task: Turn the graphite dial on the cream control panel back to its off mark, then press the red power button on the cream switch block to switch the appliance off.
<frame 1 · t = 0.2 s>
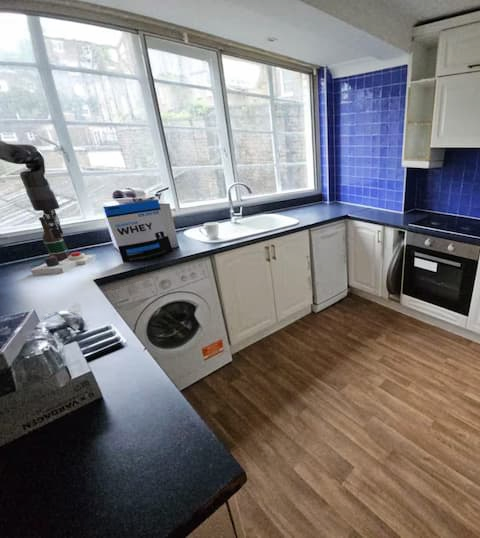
hand: (59, 236, 125), 22 cm above the table, tool pointing down, fingers open, 8 cm apart
control panel: (56, 270, 150), on the table
dial: (51, 261, 148), point 5 cm above the table, hinge at 90.0°
power button: (75, 254, 158), point 5 cm above the table, slide at 0.2 cm
switch block: (79, 262, 160), on the table
beer bottle: (62, 259, 165), on the table
protein powder: (149, 256, 166), on the table
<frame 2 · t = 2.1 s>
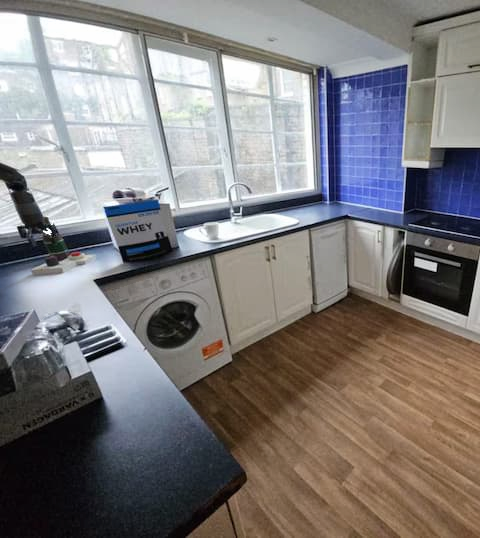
hand: (45, 245, 143), 14 cm above the table, tool pointing down, fingers open, 8 cm apart
nothing on the table moved.
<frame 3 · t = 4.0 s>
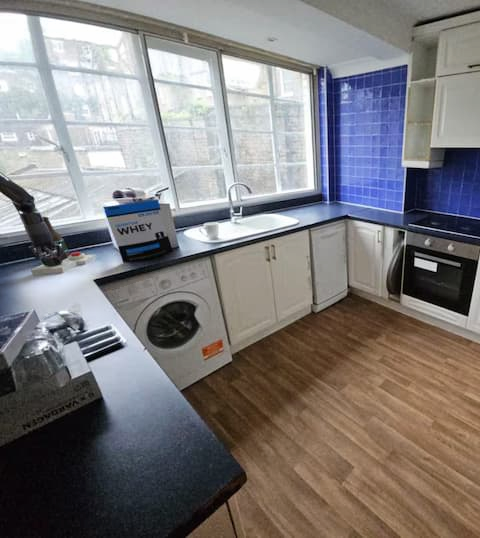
hand: (53, 264, 148), 3 cm above the table, tool pointing down, fingers open, 4 cm apart
dial: (51, 261, 148), point 5 cm above the table, hinge at 90.0°, touching gripper
everything else where it was.
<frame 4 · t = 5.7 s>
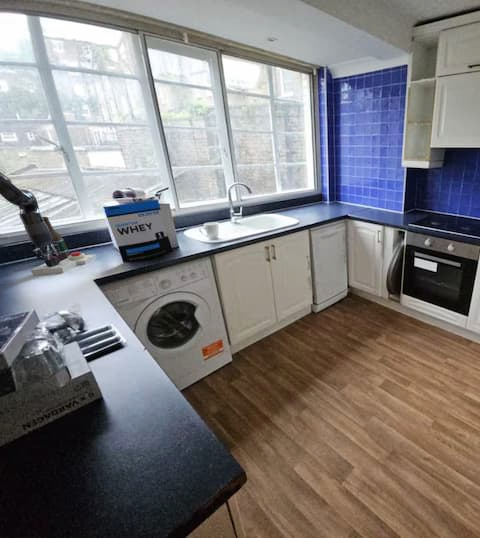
hand: (54, 264, 148), 3 cm above the table, tool pointing down, fingers closed on dial, 4 cm apart
dial: (51, 261, 148), point 5 cm above the table, hinge at -0.2°, touching gripper
everything else where it was.
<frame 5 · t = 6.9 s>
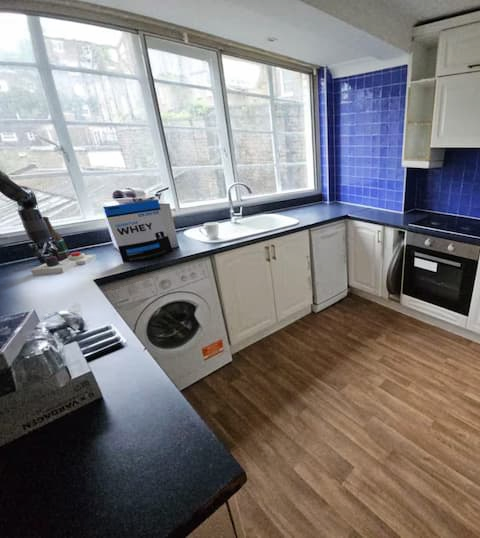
hand: (50, 260, 147), 6 cm above the table, tool pointing down, fingers open, 8 cm apart
dial: (51, 261, 148), point 5 cm above the table, hinge at -0.1°
everything else where it was.
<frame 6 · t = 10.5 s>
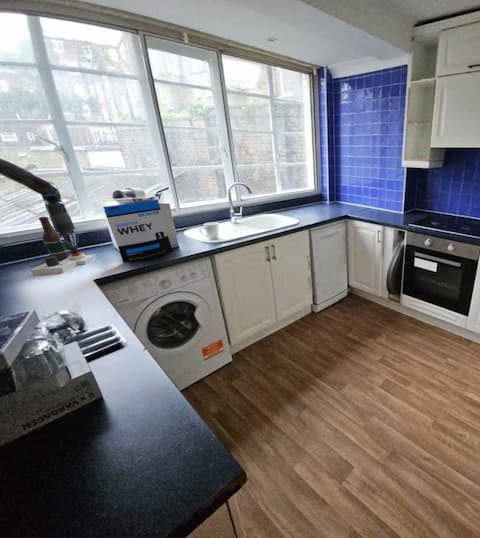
hand: (75, 253, 158), 5 cm above the table, tool pointing down, fingers closed
power button: (76, 254, 159), point 4 cm above the table, slide at -0.1 cm, touching gripper
everything else where it was.
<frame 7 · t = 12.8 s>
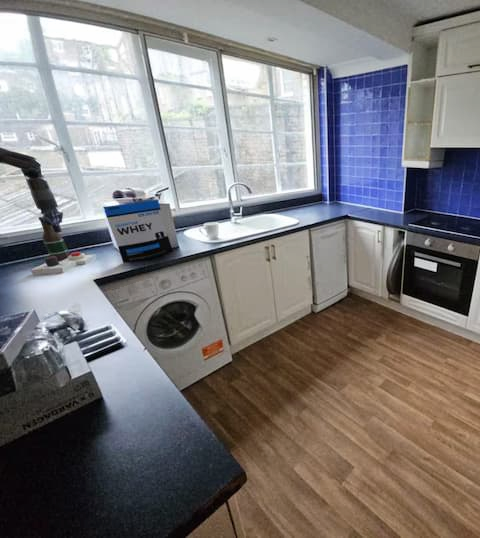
hand: (58, 232, 152), 17 cm above the table, tool pointing down, fingers closed
power button: (75, 254, 158), point 5 cm above the table, slide at 0.2 cm
everything else where it was.
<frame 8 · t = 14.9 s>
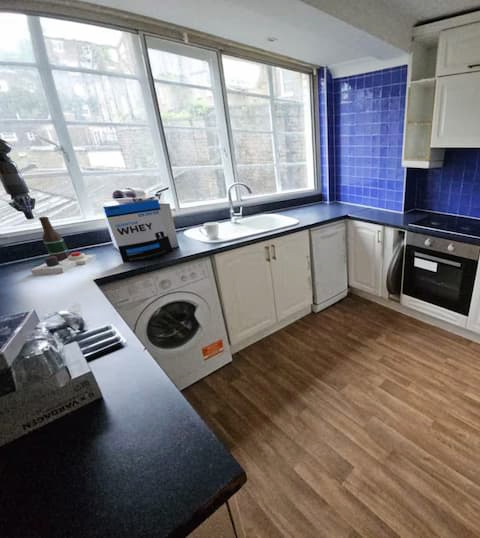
hand: (30, 219, 147), 25 cm above the table, tool pointing down, fingers closed
nothing on the table moved.
at the end: dial at +0° (first picture: +90°); power button pushed in 1.1 cm at the most during the clip, back to 0.2 cm at the end; power button slide at 0.2 cm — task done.
